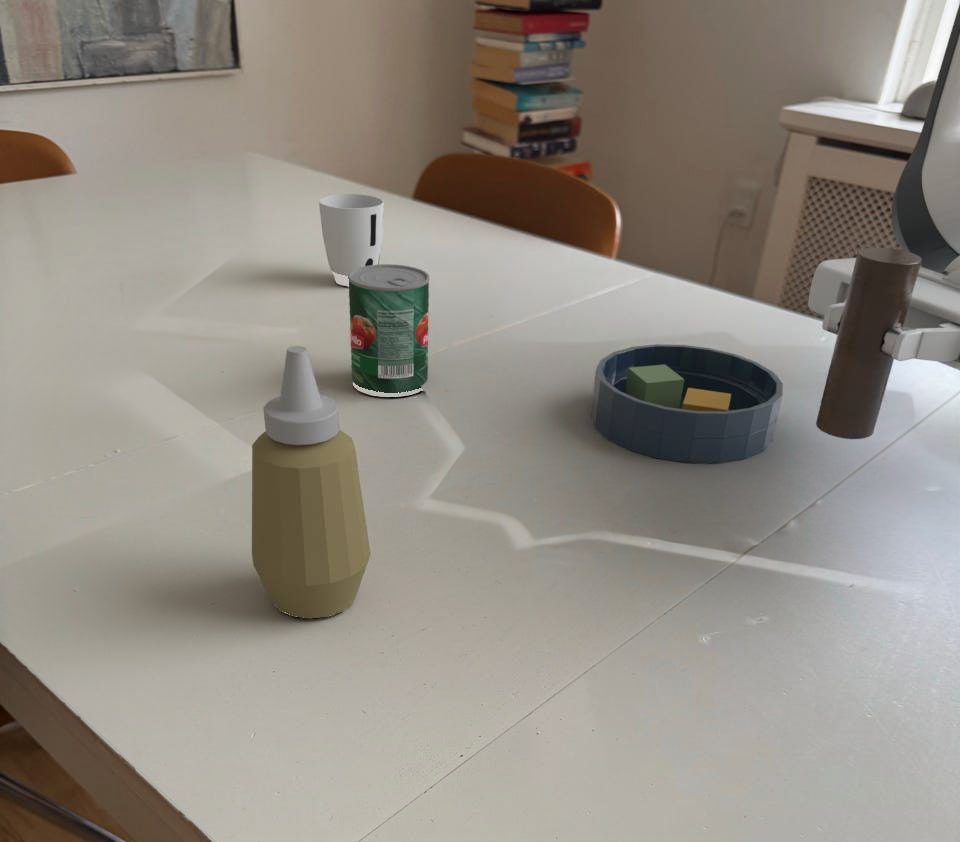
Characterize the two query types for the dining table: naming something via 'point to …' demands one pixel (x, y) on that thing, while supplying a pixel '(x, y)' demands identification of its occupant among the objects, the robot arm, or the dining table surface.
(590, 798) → the dining table surface
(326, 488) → the squeeze bottle
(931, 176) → the robot arm
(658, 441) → the bowl
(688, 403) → the block ochre
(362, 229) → the cup
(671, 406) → the block sage
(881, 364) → the brown wooden dowel
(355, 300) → the canned tomato
